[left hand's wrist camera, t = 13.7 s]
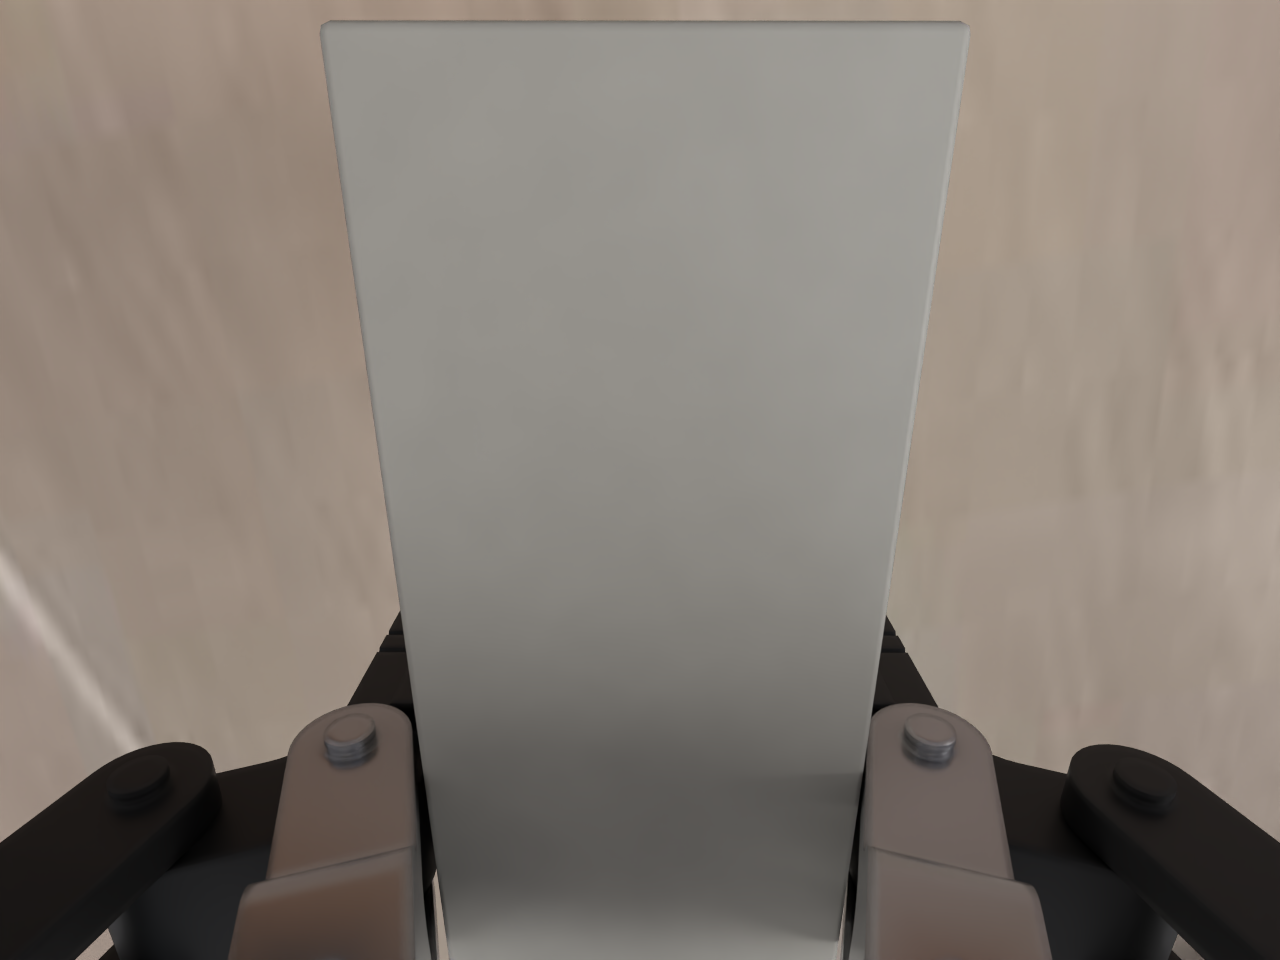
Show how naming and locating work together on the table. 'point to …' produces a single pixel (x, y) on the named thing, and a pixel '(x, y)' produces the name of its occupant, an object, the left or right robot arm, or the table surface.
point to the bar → (643, 450)
